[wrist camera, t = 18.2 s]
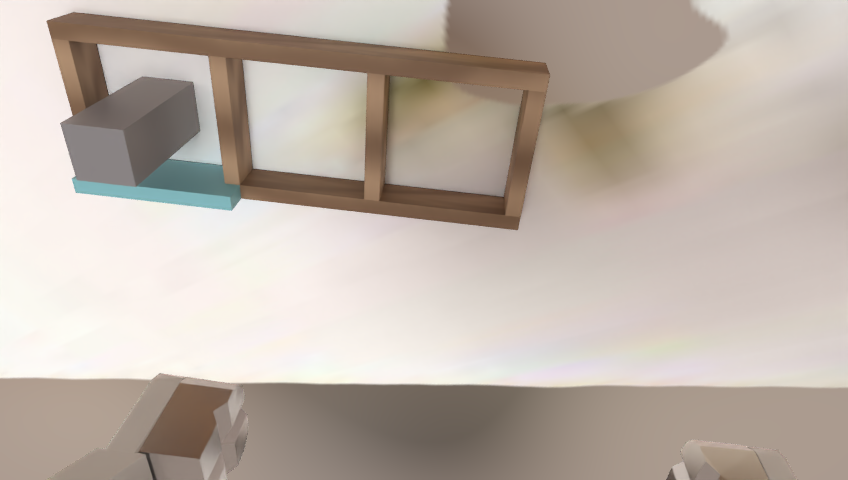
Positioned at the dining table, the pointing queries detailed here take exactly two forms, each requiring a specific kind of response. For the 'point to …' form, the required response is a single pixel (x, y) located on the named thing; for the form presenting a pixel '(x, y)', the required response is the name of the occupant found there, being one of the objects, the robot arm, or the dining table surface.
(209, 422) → the robot arm
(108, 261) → the dining table surface
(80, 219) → the dining table surface
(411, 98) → the dining table surface
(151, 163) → the tall grey block
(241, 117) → the rack
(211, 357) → the dining table surface
